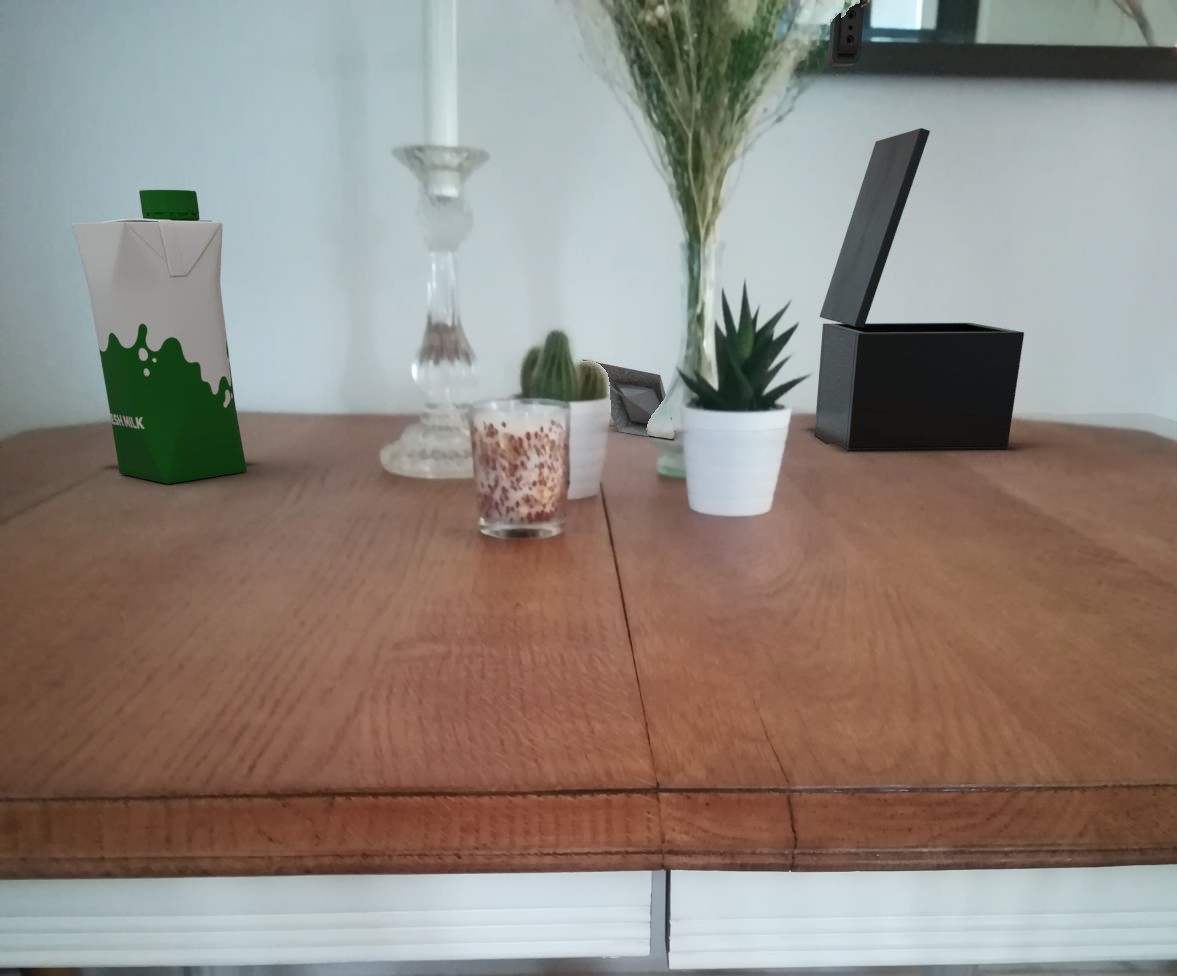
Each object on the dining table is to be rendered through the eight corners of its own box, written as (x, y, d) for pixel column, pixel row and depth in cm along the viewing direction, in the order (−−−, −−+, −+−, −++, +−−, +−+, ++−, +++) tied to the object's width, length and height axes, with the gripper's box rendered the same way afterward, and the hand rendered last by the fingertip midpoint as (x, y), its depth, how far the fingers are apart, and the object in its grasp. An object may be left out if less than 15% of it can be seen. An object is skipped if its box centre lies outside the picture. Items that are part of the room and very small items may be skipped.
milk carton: (263, 471, 92) (230, 190, 84) (160, 488, 86) (113, 185, 78) (201, 459, 98) (164, 193, 89) (100, 474, 91) (50, 189, 83)
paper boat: (716, 418, 111) (687, 402, 102) (675, 474, 113) (643, 462, 105) (625, 344, 113) (590, 322, 105) (587, 399, 116) (549, 382, 107)
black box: (956, 434, 109) (971, 322, 105) (1006, 456, 98) (1024, 332, 94) (814, 435, 109) (822, 323, 105) (847, 458, 97) (858, 333, 93)
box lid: (884, 143, 99) (875, 141, 99) (930, 130, 87) (920, 127, 87) (827, 319, 105) (819, 317, 104) (863, 328, 93) (854, 326, 93)
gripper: (946, -252, 78) (916, 52, 85) (890, -185, 90) (868, 76, 97) (835, -253, 77) (814, 52, 85) (794, -187, 89) (779, 75, 97)
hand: (843, 64), depth 91 cm, fingers closed
